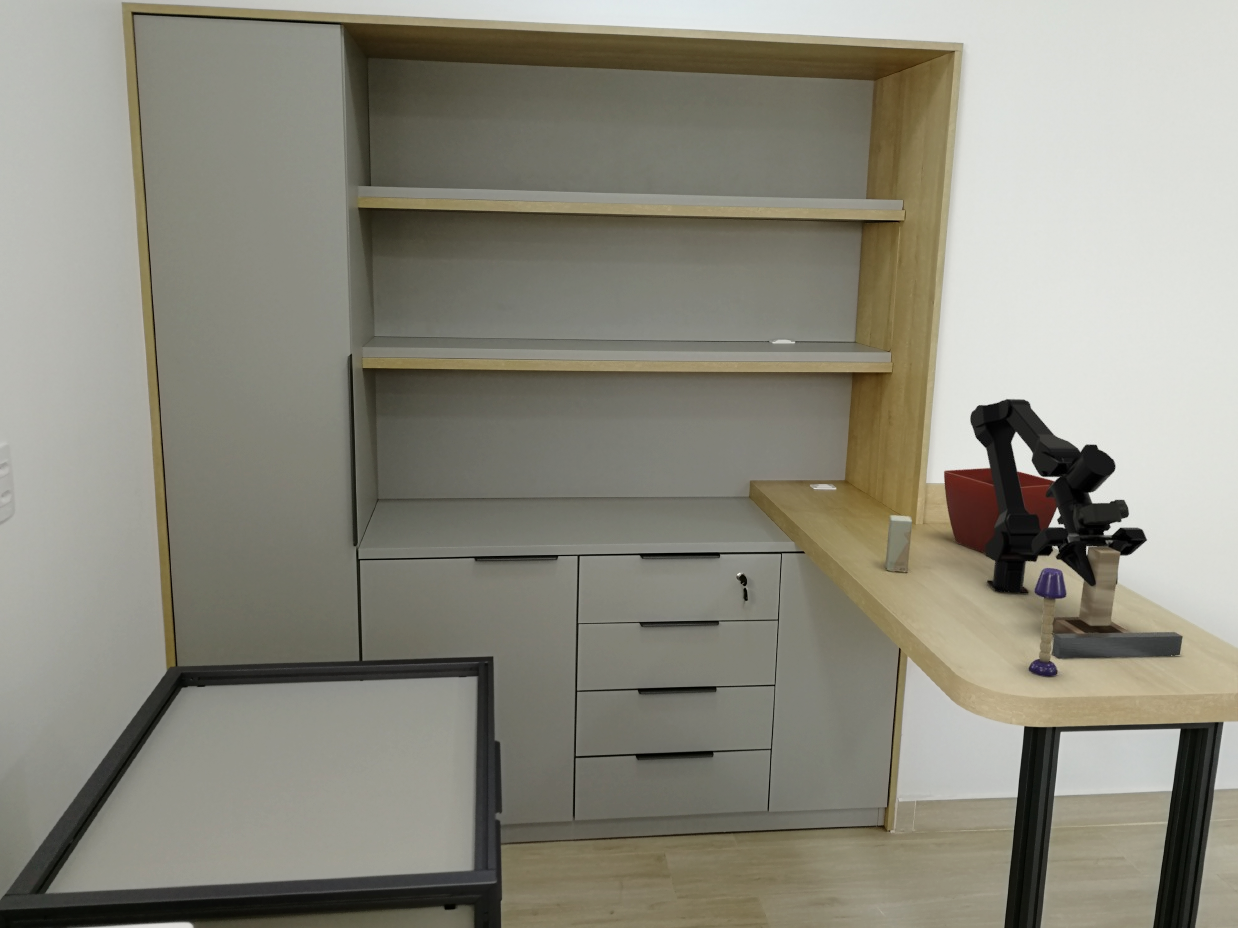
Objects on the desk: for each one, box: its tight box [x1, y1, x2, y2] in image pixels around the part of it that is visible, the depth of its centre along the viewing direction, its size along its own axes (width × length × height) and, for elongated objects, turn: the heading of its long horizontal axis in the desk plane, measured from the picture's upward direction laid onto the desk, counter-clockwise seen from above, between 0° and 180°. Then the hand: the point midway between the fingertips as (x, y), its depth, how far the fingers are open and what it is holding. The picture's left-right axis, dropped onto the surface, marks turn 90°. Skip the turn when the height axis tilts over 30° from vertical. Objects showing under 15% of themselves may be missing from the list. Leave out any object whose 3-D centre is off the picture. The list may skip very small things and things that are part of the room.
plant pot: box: [943, 467, 1058, 554], centre depth 235 cm, size 19×19×17 cm
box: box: [885, 514, 913, 573], centre depth 216 cm, size 5×4×11 cm
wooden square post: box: [1078, 546, 1121, 626], centre depth 176 cm, size 4×4×13 cm
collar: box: [1051, 616, 1132, 634], centre depth 178 cm, size 10×10×2 cm
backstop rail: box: [1051, 631, 1183, 659], centre depth 171 cm, size 2×22×4 cm, turn 98°
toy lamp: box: [1028, 567, 1067, 677], centre depth 162 cm, size 5×5×17 cm
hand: (1104, 585), depth 175 cm, fingers closed on wooden square post, 4 cm apart
